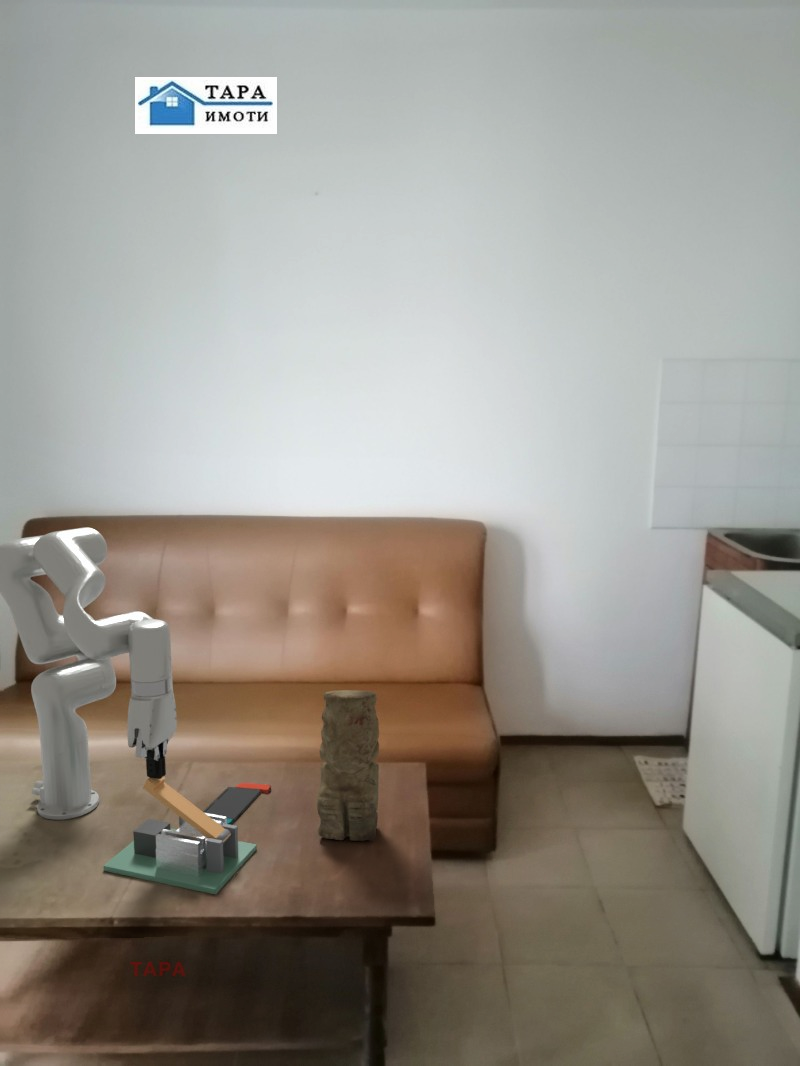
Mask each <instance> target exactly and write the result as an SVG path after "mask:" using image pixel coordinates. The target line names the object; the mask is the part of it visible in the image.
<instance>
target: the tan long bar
mask: <svg viewBox="0 0 800 1066" xmlns="http://www.w3.org/2000/svg"><path fill="white" fill-rule="evenodd" d="M165 780H166V777H165V776H163V777H162V778H161V779H157V778H151V777H148V778H147V780H146V781H145V783H144V785H143V787H142V789H144V790H145V791H146V792H148V793H149V794H150V795H151V796H153V797H154V798H155V799H156V800H157V801H158V802H160V803H161V804H163V805H164V806H166V808H168V809H169V810H171V812H173V813H175V815H177V816H178V818H179V817H181V818H182V819H183V820H185V821H186V822H187V823H188V824H190V825H191V826H192V827H194V828H195V829H196V830H197V831H199V832H200V833H201V834H203V835H204V836H205V837H206V838H212V839H217V840H222V841H223V843H224V842H225V841H226V840H227V839H228V838H229V837H230V836H231V832H230V831H229V830H228V829H225V828H223V827H222V826H221V825H219V824H218V823H217V822H215V821H214V820H213V819H212V818H210V817H209V816H208V815H206V814H205V813H204V812H203V810H201V809H200V808H198V806H196V804H195V805H194V804H193V803H192V802H191V801H190V800H188V799H187V798H186V797H185V796H183V795H181V794H180V793H179V792H178V791H177V790H175V789H174V788H173V787H171V786H170V785H169V784H168V783H166V782H165Z"/></svg>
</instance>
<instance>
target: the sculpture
mask: <svg viewBox="0 0 800 1066" xmlns="http://www.w3.org/2000/svg"><path fill="white" fill-rule="evenodd" d="M377 698H378V696H377V693H375V692H374V691H367V690H354V689H353V690H351V689H343V690H341V689H339V690H331V691H326V692H324V693H323V700H324V701H325V706H324V708H323V711H322V715H321V720H322V723H323V724H322V728H321V731H320V736H321V743H320V745H319V757H320V759H321V760H322V761H323V762H322V763H321V764H320V784H319V785H320V786H319V788H318V789H319V790H318V795H317V803H316V804H317V805H316V806H317V807H316V808H317V814H318V817H319V818H320V824H319V827H318V829H317V833H318V836H319V837H321V838H324V839H329V840H332V839H333V840H335V841H343V840H345V838H347V837H349V840H350V841H353V842H354V841H360V842H361V841H364V842H365V841H374V840H375V838H376V833H377V827H378V822H379V821H378V819H379V818H378V816H379V815H378V807H379V775H380V774H379V773H380V771H379V770H380V768H379V767H380V766H379V764H378V763H377V762H376V761H374V760H376V759H377V757H379V753H380V743H379V739H380V738H379V737H380V727H379V719H378V716H377V710H376V709H377V708H376V705H377V704H376V703H377V700H378V699H377Z"/></svg>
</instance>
